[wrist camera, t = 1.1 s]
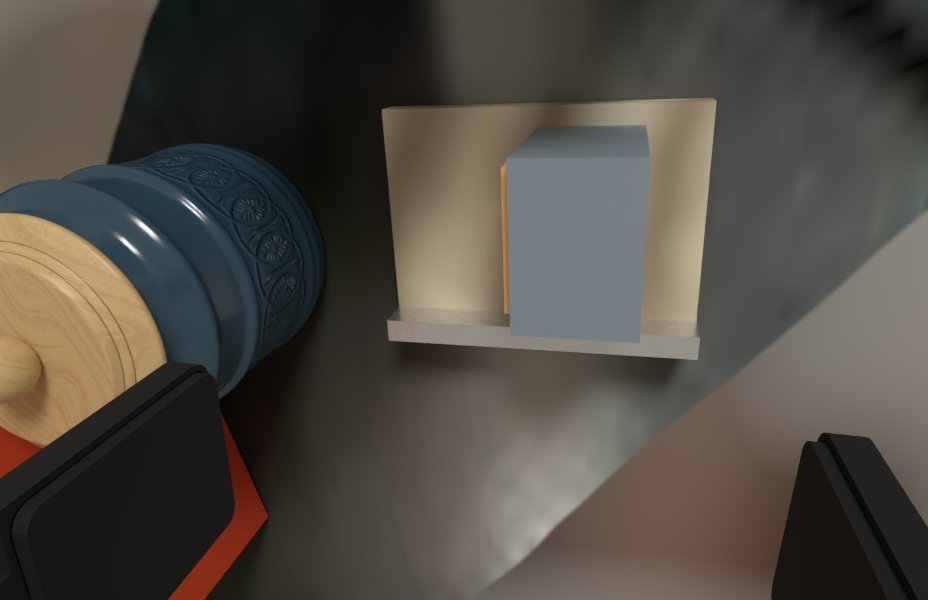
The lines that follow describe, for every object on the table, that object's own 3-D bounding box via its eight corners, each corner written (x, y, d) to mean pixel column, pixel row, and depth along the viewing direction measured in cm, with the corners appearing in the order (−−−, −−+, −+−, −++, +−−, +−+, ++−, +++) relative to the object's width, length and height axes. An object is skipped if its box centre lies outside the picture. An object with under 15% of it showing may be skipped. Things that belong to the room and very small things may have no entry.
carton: (645, 124, 30) (650, 157, 22) (638, 267, 33) (639, 343, 25) (530, 127, 32) (495, 158, 24) (532, 263, 34) (500, 334, 26)
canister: (350, 340, 40) (167, 538, 25) (174, 345, 44) (-87, 520, 28) (305, 127, 36) (45, 199, 20) (113, 150, 39) (-239, 228, 24)
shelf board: (712, 97, 31) (721, 104, 27) (692, 330, 35) (697, 359, 32) (391, 106, 34) (367, 113, 31) (408, 315, 39) (389, 340, 36)
